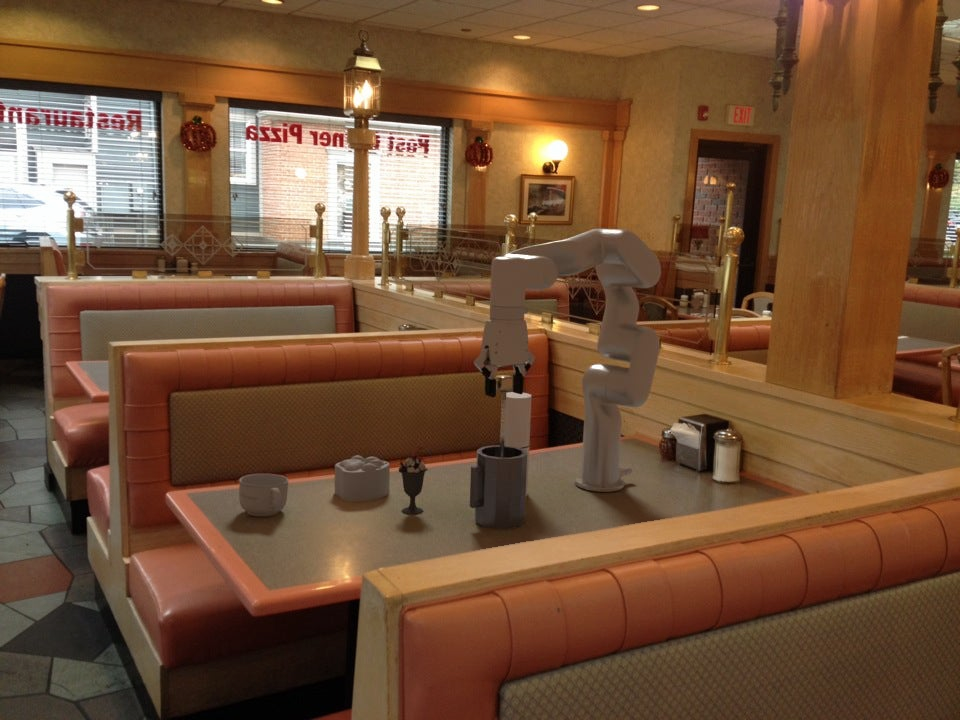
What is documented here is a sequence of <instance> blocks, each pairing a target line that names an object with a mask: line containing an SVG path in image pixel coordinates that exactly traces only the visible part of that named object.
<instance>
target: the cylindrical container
mask: <svg viewBox="0 0 960 720" xmlns="http://www.w3.org/2000/svg"><path fill="white" fill-rule="evenodd" d="M531 415H532V394H531V393H530V394H529V393H527V392H523V394H517V393H514V392H506V417H505V445H504V446H512V447H518V448H521V449H523V450H526V452H527V473H526V497H527V496H528V486H529V468H530V467H529V465H530V463H529V462H530V461H529V460H530V444H531V443H530V440H531V438H530V435H531V419H532V418H531Z"/></svg>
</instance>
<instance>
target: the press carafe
mask: <svg viewBox="0 0 960 720" xmlns="http://www.w3.org/2000/svg"><path fill="white" fill-rule="evenodd" d="M526 473H527V452H526V450H523V449H521V448H518V447H512V446H504V458H502V457H500V444H499V445H498V444H497V445H493V444H492V445H486V446H481V447H480V448H478V449H477V450H476V464H475V465H471V466H470V485H469V487H470V488H469V492H470V493H469V507H470V508H472V509H474V522H475V524H477V525H479V526H481V527H483V528H488V529H493V530H511V529H512V530H513V529H515V528H516V529H517V528H520V527H521V526H522V525H524V524H525V517H526V497H527V496H526Z"/></svg>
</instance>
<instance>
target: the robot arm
mask: <svg viewBox="0 0 960 720" xmlns="http://www.w3.org/2000/svg"><path fill="white" fill-rule="evenodd" d="M660 262H661V261H660V260H659V258H658V257H657V255H656V254H655V253H654V251H652V249H651V248H649V246H648V245H647V244H646V243H645V242H644V241H643V240H642V239H641V238H640V236H638V235H637V234H636V233H634V232H632V231H631V230H629V229H621V228H619V229H617V228H593V229H589V230H587V231H585V232H582V233H579V234H577V235H573V236H571V237H569V238H564V239H562V240H561V239H560V240H556V241H550V242H546V243H541V244H535V245H529V246H526V247H522V248H519V249H515V250H514V251H510V252H508V253H506V254H504V255H502V256H496V257H494V258H492V261H491V264H490V265H491V268H490V269H491V270H490V294H489V296H490V299H489V319H486V321H485V322H484V323H485V324H484V326H483V327H484V328H483V333H482V337H481V347H480V354H479V355H478V356H477V357H476V359H474V360H473V364H474V367H476V368H477V369H478V372H479V373H481V375H482V377H483V378H484V394H485V396H487V397H490V398H496V396H497V391H496V375H497V371H498V370H499V368H502V367H512V368H513V371H514V374H512V376H513V377H514V386H513V391H512V392H514V393H517V394H523V393H524V384H525V383H524V381H525V377H526V376H527V372H528V371H529V369H530V368H531V366H532V365H533V364H534V362H535V361H536V356H535V355H534V354H533V352H531V351H530V349H529V331H528V325H527V320H526V319H525V315H527V314H528V313H529V310H528V308H527V307H525V305H526V302H525V301H526V290H530V291H531V290H532V291H545V290H548V289H550V288H552V286H554V284H556V282H557V279H558V277H566V276H567V277H568V276H574V275H578V274H581V273H582V272H585V271H587V270H590V269H592V268H595V272H596V275H597V276H596V277H597V278H598V279H599V282H600V284H601V287H602V289H603V292H604V294H605V308H604V313H603V316H602V322H601V326H600V329H599V330H600V331H599V333H598V334H599V335H598V338H597V343H596V344H597V345H596V348H597V353H598V354H599V355H600V356H601V357H603V358H605V359H607V360H610V361H611V360H612V361H619V362H624V363H629V367H625V366H620V365H614V364H608V363H595V364H592V365H590V366H588V367H587V368H586V369H585V371H584V372H583V374H582V377H581V378H582V380H581V386H582V394H583V401H584V402H583V403H584V405H583V406H584V418H583V435H582V436H583V437H582V456H581V457H582V458H581V474H580V475H577V476H576V477H575V479H574V484H575V486H577V487H578V488H581V489H583V490H586V491H591V492H596V493H597V492H599V493H601V492H602V493H608V492H609V493H610V492H617V491H620V490H622V489H624V487H625V481H624V480H623V479H622V477H623V476H627V475H631V474H632V473H633V469H632V468H631V467H630V466H628V467H621V466H620V455H621V441H622V440H621V438H622V428H623V427H622V424H623V423H622V414H621V410H620V408H619V406H623V407H627V408H640V407H642V406H643V405H645V403H646V402H647V400H648V398H649V396H650V393H651V388H652V384H653V382H654V376H655V372H656V367H657V363H658V359H659V355H660V348H661V347H660V338H659V335H658V333H657V332H656V331H655V330H654V329H653V328H651V327H650V326H643V325H637V322H638V318H639V313H640V304H639V303H640V302H639V299H638V296H637V294H636V292H635V291H634V289H633V288H639V289H649V288H653V287H654V286H655V285H657V283H658V282H659V281H660V278H661V275H662V266H661V263H660ZM485 365H486V366H485ZM618 405H619V406H618Z"/></svg>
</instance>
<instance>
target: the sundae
mask: <svg viewBox="0 0 960 720" xmlns="http://www.w3.org/2000/svg"><path fill="white" fill-rule="evenodd" d="M422 449H423V447H422V446H421V447H419V448H418V450H417V451H416V453H413V454H411V455H410V456H409V457H407V458H406V460H405V461H404V463H403V462H402V461H400V462H399V463H400V466H399V467H398V473H400V474H401V476H402V477H401V478H402V486H403V492H404V493H405V494H406V495H407V496H408V497H409V506H406V507H403V508H402V509H401V512H402V513H403V514H405V515H409V514H416V515H420V514H422V513H423V512H424V509H422V508H421V507H417V504H416V498H417V497H418V495H420V494H421V493H422V489H423V485H424V479H425V473H426V472H427V471H428V468H427V467H426V464H425V462H424V461H422V460H423V457H422V456H421V450H422ZM417 454H418V455H419V456H417ZM419 513H420V514H419Z"/></svg>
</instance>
